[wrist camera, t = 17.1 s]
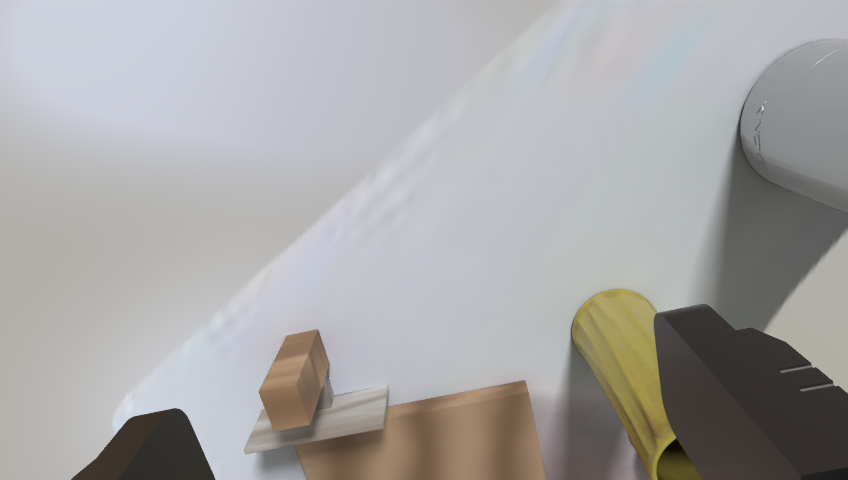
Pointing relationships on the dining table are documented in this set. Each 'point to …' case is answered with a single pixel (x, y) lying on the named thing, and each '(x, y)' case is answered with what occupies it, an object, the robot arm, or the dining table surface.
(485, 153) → the dining table surface
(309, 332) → the wooden stamp block
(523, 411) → the board
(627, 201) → the dining table surface
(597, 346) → the vase
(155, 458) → the robot arm
